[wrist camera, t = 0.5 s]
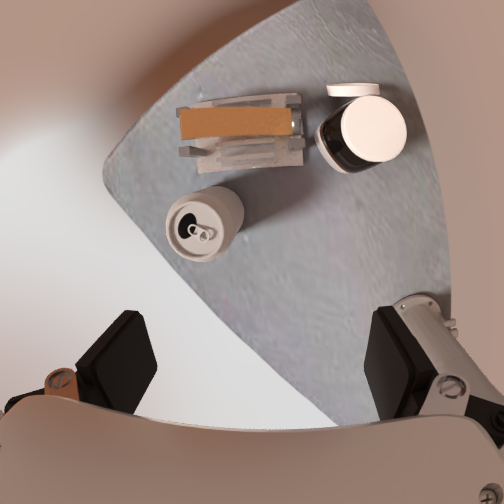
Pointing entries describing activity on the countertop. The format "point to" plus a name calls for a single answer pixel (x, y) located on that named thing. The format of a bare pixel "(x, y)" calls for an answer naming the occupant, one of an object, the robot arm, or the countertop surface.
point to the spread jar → (360, 129)
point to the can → (204, 223)
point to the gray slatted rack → (247, 140)
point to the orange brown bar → (239, 122)
